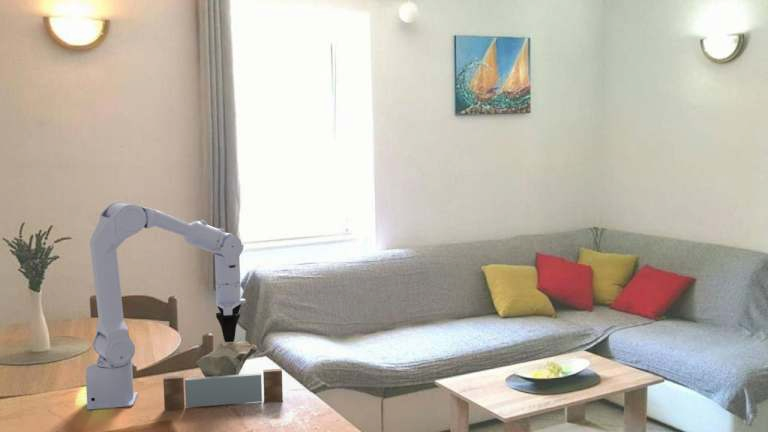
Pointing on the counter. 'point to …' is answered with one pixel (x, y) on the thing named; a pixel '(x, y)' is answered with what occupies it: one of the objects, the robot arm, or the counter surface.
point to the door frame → (176, 389)
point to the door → (223, 390)
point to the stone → (226, 359)
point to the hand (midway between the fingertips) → (229, 337)
